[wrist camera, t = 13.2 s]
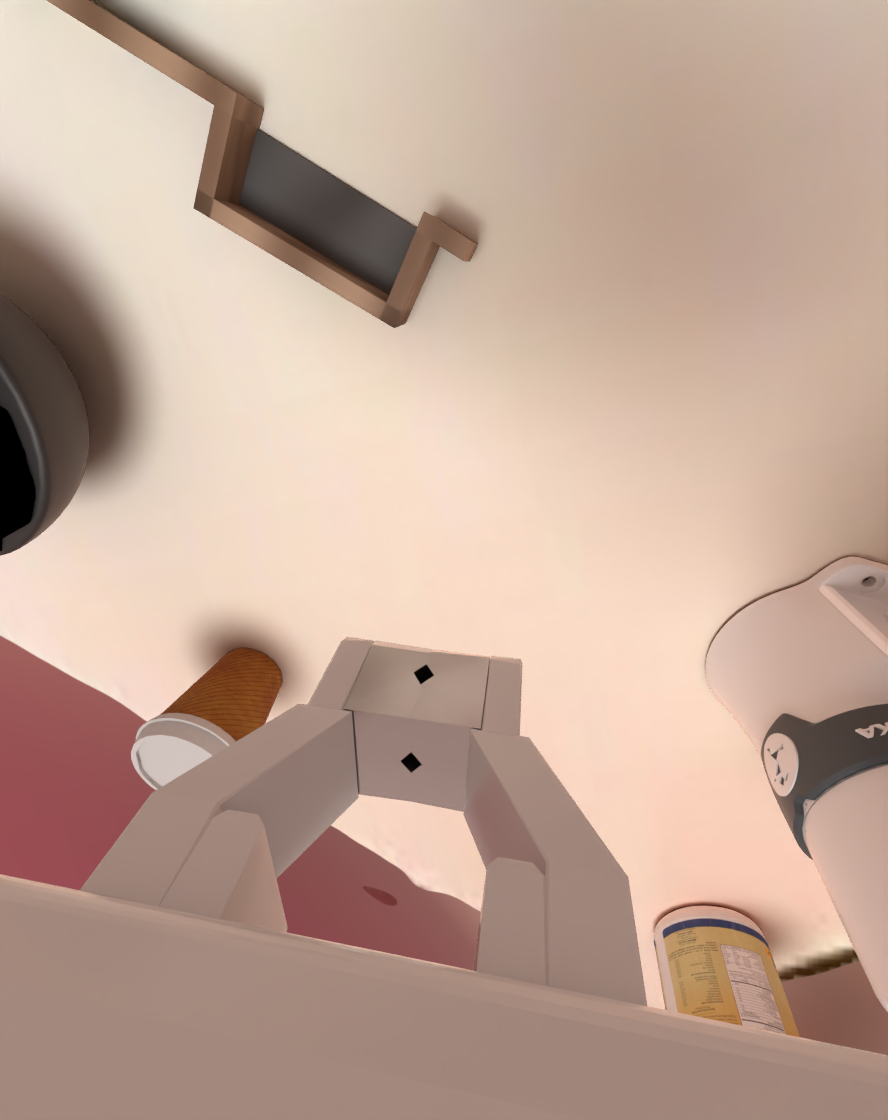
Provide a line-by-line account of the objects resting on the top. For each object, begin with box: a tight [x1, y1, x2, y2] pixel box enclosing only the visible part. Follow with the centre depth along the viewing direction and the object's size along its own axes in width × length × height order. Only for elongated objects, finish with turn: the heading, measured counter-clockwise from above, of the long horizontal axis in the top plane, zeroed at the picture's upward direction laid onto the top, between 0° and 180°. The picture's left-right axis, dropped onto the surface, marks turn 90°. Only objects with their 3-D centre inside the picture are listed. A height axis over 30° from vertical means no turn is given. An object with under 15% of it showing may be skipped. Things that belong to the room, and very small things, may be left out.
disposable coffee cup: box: [131, 648, 282, 790], centre depth 46 cm, size 10×10×12 cm
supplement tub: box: [654, 906, 799, 1037], centre depth 53 cm, size 12×12×17 cm
